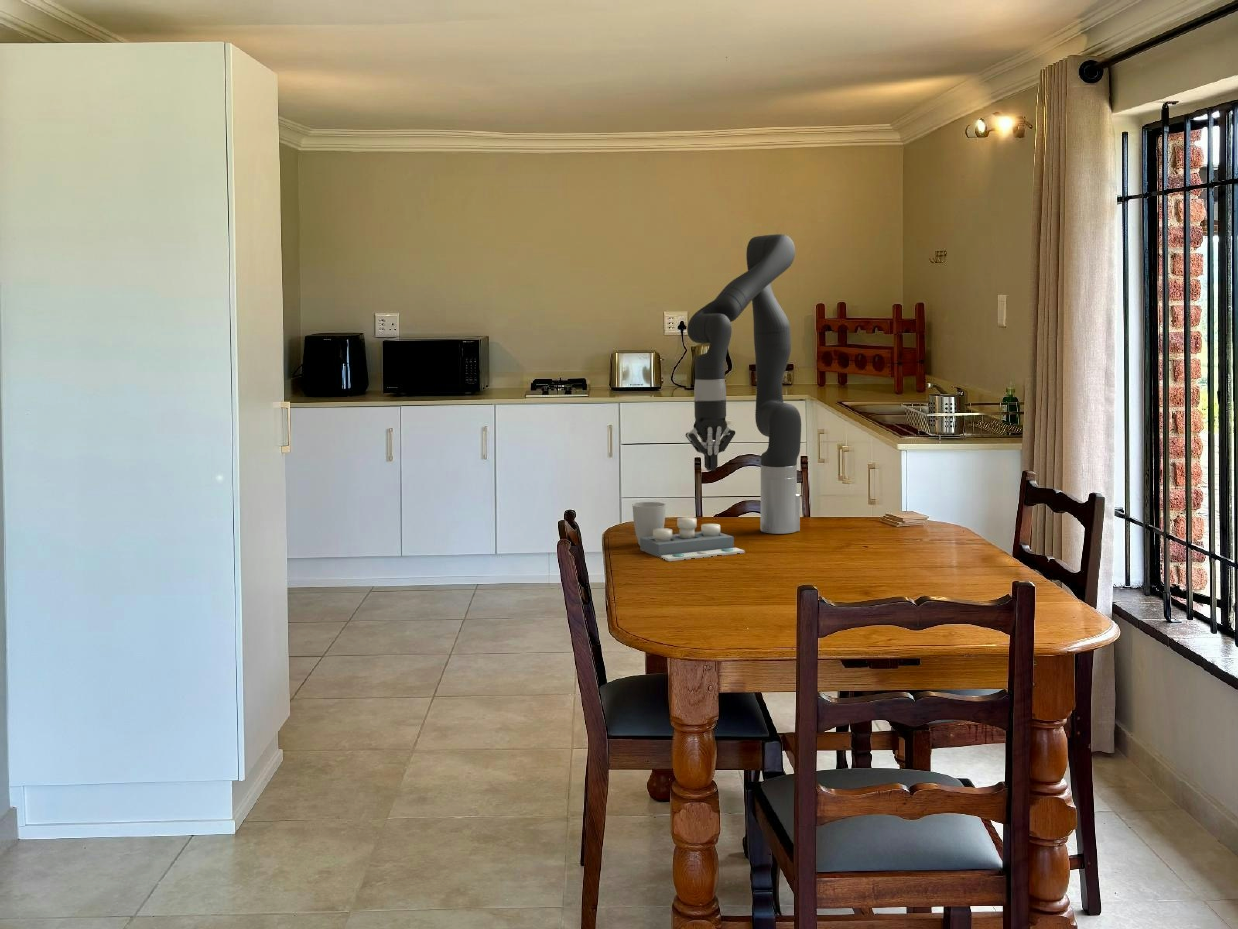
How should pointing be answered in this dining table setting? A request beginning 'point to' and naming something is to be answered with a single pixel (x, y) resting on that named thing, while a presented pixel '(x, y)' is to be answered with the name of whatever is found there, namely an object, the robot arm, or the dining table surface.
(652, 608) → the dining table surface
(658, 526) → the cup
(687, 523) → the button
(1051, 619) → the dining table surface
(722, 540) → the board
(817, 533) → the dining table surface
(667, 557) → the strip
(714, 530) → the button
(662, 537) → the button
